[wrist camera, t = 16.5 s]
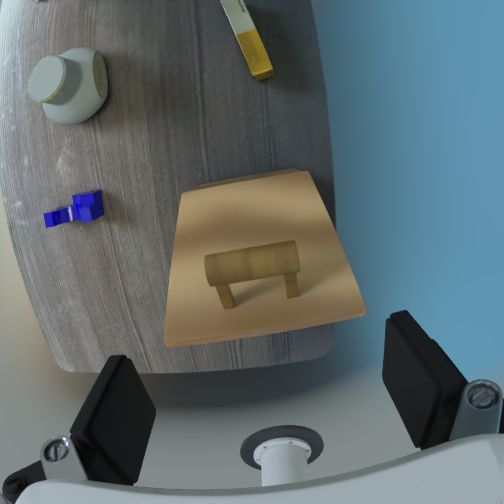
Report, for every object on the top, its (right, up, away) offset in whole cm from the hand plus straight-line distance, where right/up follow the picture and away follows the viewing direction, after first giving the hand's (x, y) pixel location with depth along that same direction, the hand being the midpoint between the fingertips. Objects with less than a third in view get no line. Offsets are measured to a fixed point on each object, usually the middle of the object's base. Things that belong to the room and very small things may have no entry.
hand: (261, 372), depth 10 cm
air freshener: (-23, +27, +24) cm, 43 cm away
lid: (0, +5, +14) cm, 15 cm away
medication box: (-1, +31, +23) cm, 38 cm away
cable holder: (-25, +11, +29) cm, 40 cm away
